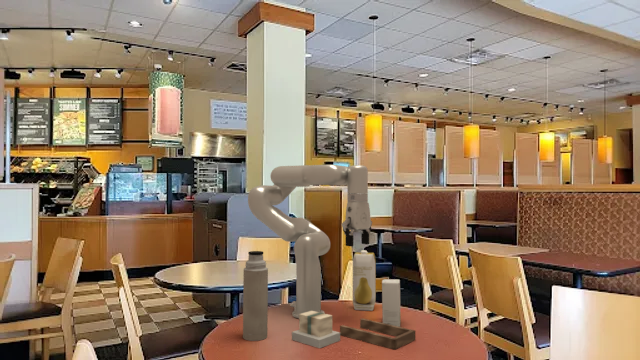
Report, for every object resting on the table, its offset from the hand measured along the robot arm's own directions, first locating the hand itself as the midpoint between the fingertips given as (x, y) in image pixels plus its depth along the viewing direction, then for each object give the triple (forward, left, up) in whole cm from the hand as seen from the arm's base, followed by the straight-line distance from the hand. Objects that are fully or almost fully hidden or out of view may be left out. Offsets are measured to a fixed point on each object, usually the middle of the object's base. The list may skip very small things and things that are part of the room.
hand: (357, 245), depth 163 cm
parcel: (+2, -25, -26) cm, 36 cm away
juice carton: (-10, +18, -28) cm, 35 cm away
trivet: (+2, -25, -28) cm, 38 cm away
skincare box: (+10, +7, -28) cm, 31 cm away
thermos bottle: (-15, -36, -28) cm, 48 cm away
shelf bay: (+14, -9, -28) cm, 33 cm away
